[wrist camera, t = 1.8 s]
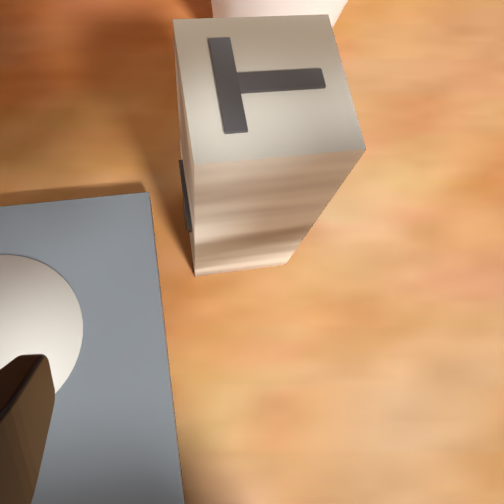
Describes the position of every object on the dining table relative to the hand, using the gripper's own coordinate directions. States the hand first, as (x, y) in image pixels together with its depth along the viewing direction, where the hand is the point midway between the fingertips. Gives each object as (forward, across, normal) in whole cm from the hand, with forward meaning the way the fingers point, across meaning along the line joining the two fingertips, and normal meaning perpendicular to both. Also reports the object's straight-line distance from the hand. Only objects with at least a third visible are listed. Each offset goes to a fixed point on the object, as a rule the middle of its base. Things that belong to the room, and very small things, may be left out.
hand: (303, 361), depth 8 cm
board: (+10, +9, +8) cm, 16 cm away
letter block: (+14, 0, +4) cm, 15 cm away
